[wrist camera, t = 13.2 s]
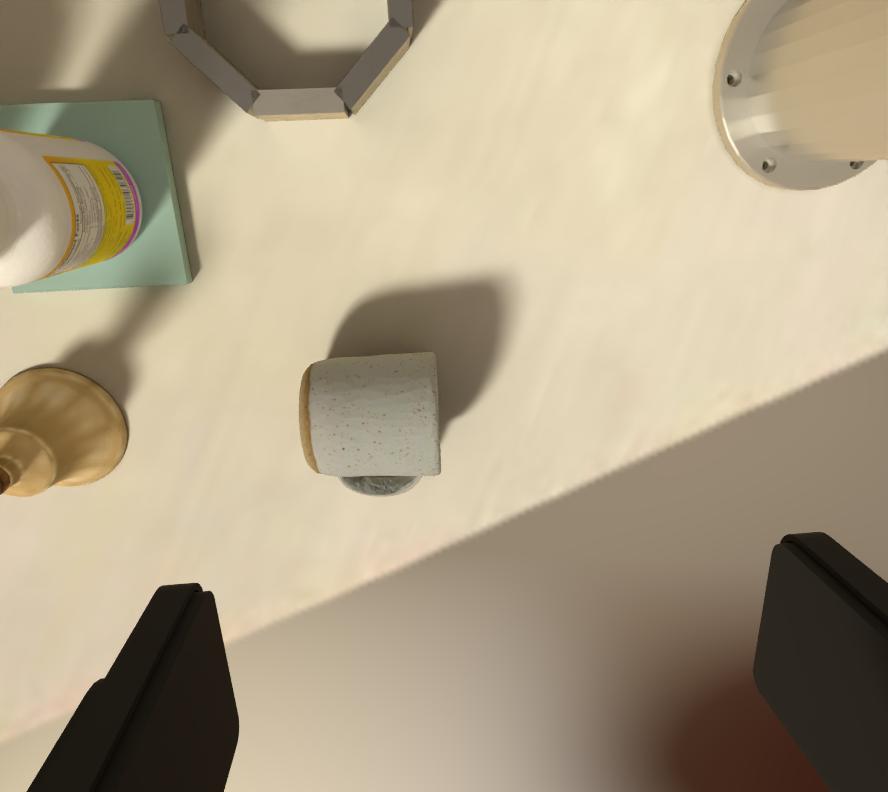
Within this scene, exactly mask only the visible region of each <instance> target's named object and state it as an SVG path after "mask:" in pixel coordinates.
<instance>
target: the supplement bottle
mask: <svg viewBox="0 0 888 792" xmlns="http://www.w3.org/2000/svg"><path fill="white" fill-rule="evenodd" d="M141 222H142V201H141V197H140V193H139V190H138V187H137V185H136V183H135V181H134V179H133V177H132V175H131V174H130V173H129V171H128V170H127V169H126V167H125V166H124V165H123V164H122V163H121V162H120V161H119V160H118V159H117V158H116V157H115V156H114V155H112V154H111V153H110V152H108V151H107V150H105V149H103V148H102V147H100V146H98V145H95V144H93V143H91V142H88V141H84V140H80V139H75V138H69V137H62V136H54V135H46V134H38V133H29V132H22V131H14V130H6V129H0V288H5V287H14V286H19V285H23V284H27V283H31V282H34V281H38V280H41V279H44V278H48V277H51V276H54V275H58V274H61V273H65V272H69V271H72V270H75V269H79V268H82V267H86V266H90V265H93V264H97V263H100V262H103V261H106V260H109V259H112V258H114V257H116V256H118V255H120V254H121V253H123V252H124V251H125V250H126V249H127V248H128V247H129V246H130V245H131V244H132V243H133V241H134V240H135V238H136V236H137V234H138V232H139V229H140V226H141Z"/></svg>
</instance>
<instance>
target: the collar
mask: <svg viewBox="0 0 888 792" xmlns="http://www.w3.org/2000/svg"><path fill="white" fill-rule="evenodd" d="M159 3H160V9H161V15H162V21H163V27H164V33H165V35H167V36H168V37H170V38H171V41H170V42H169V43H170V44H172V45H173V46H174V47H175V48H176V49H177V50H178V51H179V52H180V53H181V54H183V55H184V56H185V57H186V58H187V59H188V60H189V61H190V62H191V63H192V64H194V65H195V66H196V67H197V68H198V69H199V70H200V71H201V72H202V73H203V74H205V75H206V76H207V77H208V78H209V79H210V80H211V81H212V82H213V83H214V84H216V85H217V86H218V87H219V88H220V89H221V90H222V91H223V92H224V93H225V94H227V95H228V96H229V97H230V98H231V99H232V100H233V101H234V102H235V103H236V104H238V105H239V106H240V107H241V108H242V109H243V110H244V111H245V112H246V113H248V114H250V115H252V116H254V117H256V118H258V119H259V118H260V119H262V120H264V121H290V120H317V119H343V118H348V109H349V110H350V111H351V112H352V113H353V114H354V115H355V114H356V113H357V112H358V111H359V109H360V108H361V107H362V106H363V104H364V103H365V102H366V101H367V99H368V98H369V97H370V96H371V94H372V93H373V92H374V91H375V89H376V88H377V87H378V86H379V84H380V83H381V82H382V81H383V79H384V78H385V77H386V76H387V75H388V73H389V72H390V71H391V70H392V68H393V67H394V66H395V65H396V63H397V62H398V61H399V60H400V58H401V57H402V56H403V55H404V53H405V52H406V51H407V50H408V48H409V44H410V40H411V39H412V31H413V18H412V0H387V3H388V19H389V22H388V23H387V25H386V26H385V27H384V28H383V30H382V31H381V32H380V33H379V35H378V36H377V37H376V38H375V40H374V41H373V42H372V44H371V45H370V46H369V47H368V49H367V50H366V51H365V52H364V54H363V55H362V56H361V57H360V59H359V60H358V61H357V63H356V64H355V65H354V66H353V68H352V69H351V70H350V71H349V73H348V74H347V75H346V76H345V78H344V79H343V80H342V82H341V83H340V84H339V85H338V87H332V88H303V89H274V90H259V89H258V88H256V87H255V86H254V85H253V84H252V83H251V82H250V81H249V80H248V79H247V78H246V77H245V76H244V75H242V74H241V73H240V72H239V71H238V70H237V69H236V68H235V67H234V66H233V65H232V64H231V63H230V62H228V61H227V60H226V59H225V58H224V57H223V56H222V55H221V54H220V53H219V52H218V51H217V50H216V49H214V48H213V47H212V46H211V45H210V44H209V43H208V42H207V41H206V38H205V31H204V25H203V18H202V11H201V5H200V0H159Z"/></svg>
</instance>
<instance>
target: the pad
mask: <svg viewBox="0 0 888 792" xmlns="http://www.w3.org/2000/svg"><path fill="white" fill-rule="evenodd" d="M0 129H6V130H14V131H22V132H29V133H38V134H46V135H54V136H62V137H69V138H75V139H80V140H84V141H88V142H91V143H93V144H95V145H98V146H100V147H102V148H103V149H105V150H107V151H108V152H110V153H111V154H112V155H114V156H115V157H116V158H117V159H118V160H119V161H120V162H121V163H122V164H123V165H124V166H125V167H126V169H127V170H128V171H129V173H130V174H131V175H132V177H133V179H134V181H135V183H136V185H137V187H138V190H139V193H140V197H141V201H142V222H141V226H140V229H139V232H138V234H137V236H136V238H135V240H134V241H133V243H132V244H131V245H130V246H129V247H128V248H127V249H126V250H125V251H124V252H123V253H121V254H120V255H118V256H116V257H114V258H112V259H109V260H106V261H103V262H100V263H97V264H93V265H90V266H86V267H82V268H79V269H75V270H72V271H69V272H65V273H61V274H58V275H54V276H51V277H48V278H44V279H41V280H38V281H34V282H31V283H27V284H23V285H19V286H14V287H12V290H13V293H31V292H50V291H69V290H88V289H107V288H125V287H144V286H163V285H182V284H189V283H191V282H192V276H191V271H190V265H189V260H188V254H187V248H186V243H185V237H184V232H183V226H182V220H181V215H180V209H179V204H178V198H177V193H176V187H175V181H174V176H173V170H172V165H171V159H170V154H169V148H168V142H167V137H166V131H165V126H164V120H163V114H162V109H161V103H160V102H159V101H157V100H154V99H151V100H122V101H94V102H66V103H37V104H9V105H0Z"/></svg>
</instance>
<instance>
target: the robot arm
mask: <svg viewBox="0 0 888 792" xmlns="http://www.w3.org/2000/svg"><path fill="white" fill-rule="evenodd" d="M727 77H729V78H730V83H729V84H728V83H727ZM713 110H714V115H715V119H716V124H717V129H718V132H719V134H720V136H721V139H722V141H723V144H724V146H725V148H726V150H727V151H728V152H729V154H730V155H731V157H732V158H733V160H734V161H735V163H736V164H737V165H738V166H739V167H741V168H742V169H743V170H744V171H745V172H746V173H747V174H748V175H749V176H751V177H753V178H755V179H756V180H758V181H760V182H762V183H764V184H766V185H769V186H773V187H776V188H780V189H787V190H817V189H822V188H825V187H829V186H833V185H837V184H839V183H842V182H844V181H846V180H848V179H850V178H852V177H855V176H856V175H858V174H859V173H861V172H862V171H864V170H865V169H867V168H868V167H870V166H871V165H873V164H874V163H875V162H876V161H877V160H886V159H888V0H746V2H745V3H744V5H743V6H742V7H741V9H740V10H739V12H738V13H737V15H736V16H735V18H734V19H733V21H732V23H731V25H730V27H729V29H728V31H727V34H726V36H725V38H724V40H723V42H722V45H721V49H720V52H719V55H718V59H717V62H716V67H715V74H714V81H713ZM763 163H764V168H762V165H763ZM753 674H754V680H755V684H756V686H757V688H758V690H759V692H760V694H761V695H762V696H763V698H764V699H765V701H766V702H767V703H768V705H769V706H770V707H771V709H772V710H773V712H774V713H775V714H776V716H777V717H778V719H779V720H780V721H781V723H782V724H783V725H784V727H785V728H786V730H787V731H788V733H789V734H790V735H791V737H792V738H793V739H794V741H795V742H796V744H797V745H798V746H799V748H800V749H801V751H802V752H803V753H804V755H805V756H806V758H807V759H808V760H809V762H810V763H811V764H812V766H813V767H814V769H815V770H816V771H817V773H818V774H819V776H820V777H821V778H822V780H823V781H824V783H825V784H826V785H827V787H828V788H829V789H830V791H831V792H888V583H887V582H886V581H884V580H883V579H882V578H881V577H879V576H878V575H877V574H876V573H874V572H873V571H872V570H871V569H870V568H868V567H867V566H866V565H865V564H863V563H862V562H861V561H860V560H858V559H857V558H855V556H853V555H852V554H851V553H850V552H848V551H847V550H846V549H845V548H843V547H842V546H841V545H840V544H839V543H837V542H836V541H835V540H834V539H832V538H831V537H830V536H828V535H827V534H825V533H822V532H812V533H801V534H788V535H786V536H784V537H783V538H782V540H781V542H780V544H777V545H775V547H774V548H773V551H772V556H771V562H770V567H769V574H768V580H767V586H766V592H765V599H764V605H763V611H762V617H761V623H760V629H759V635H758V642H757V648H756V654H755V660H754V667H753ZM238 736H239V717H238V712H237V707H236V702H235V697H234V693H233V687H232V682H231V677H230V672H229V668H228V662H227V658H226V653H225V648H224V643H223V638H222V633H221V628H220V623H219V618H218V613H217V608H216V603H215V598H214V595H213V593H212V592H211V591H204V592H203V590H202V587H201V586H200V584H198V583H188V584H176V585H163V586H161V587H159V588H158V589H157V590H156V592H155V594H154V595H153V597H152V599H151V600H150V602H149V604H148V606H147V607H146V609H145V611H144V612H143V614H142V616H141V617H140V619H139V621H138V623H137V624H136V626H135V628H134V629H133V631H132V633H131V634H130V636H129V638H128V640H127V641H126V643H125V645H124V646H123V648H122V650H121V652H120V653H119V655H118V657H117V658H116V660H115V662H114V663H113V665H112V667H111V669H110V670H109V672H108V674H107V675H106V677H105V678H103V679H100V680H98V681H97V682H95V683H94V684H93V685H92V686H91V688H90V689H89V690H88V691H87V693H86V695H85V696H84V698H83V700H82V701H81V703H80V705H79V706H78V708H77V709H76V711H75V713H74V714H73V716H72V718H71V719H70V721H69V723H68V724H67V726H66V728H65V729H64V731H63V733H62V734H61V736H60V738H59V739H58V741H57V742H56V744H55V746H54V748H53V749H52V751H51V752H50V754H49V756H48V757H47V759H46V761H45V762H44V764H43V766H42V767H41V769H40V770H39V772H38V774H37V775H36V777H35V779H34V780H33V782H32V784H31V785H30V787H29V789H28V791H27V792H224V789H225V785H226V782H227V778H228V774H229V771H230V768H231V764H232V760H233V757H234V753H235V750H236V746H237V742H238Z"/></svg>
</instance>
